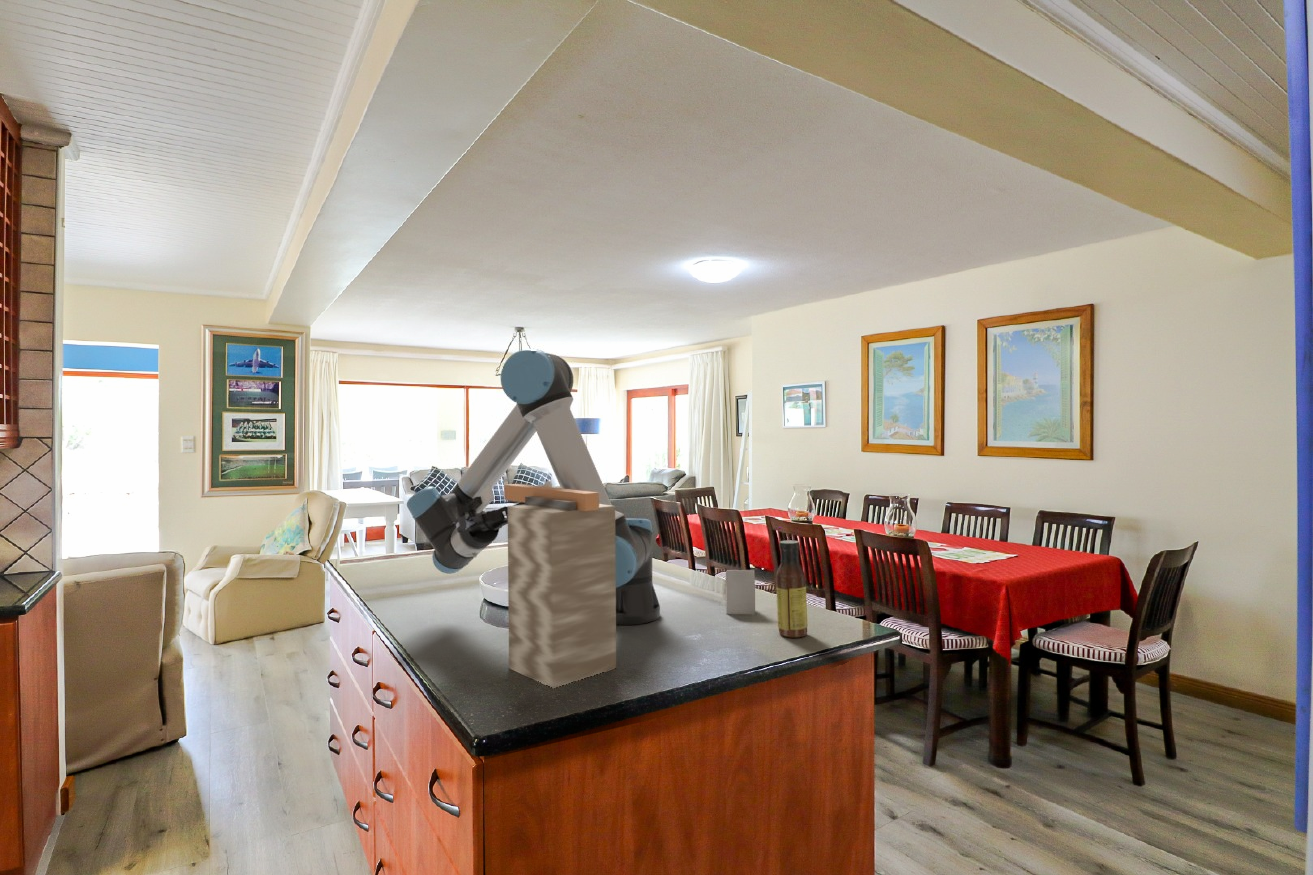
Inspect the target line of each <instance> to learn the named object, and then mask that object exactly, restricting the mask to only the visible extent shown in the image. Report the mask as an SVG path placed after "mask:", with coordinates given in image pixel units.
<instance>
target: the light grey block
mask: <svg viewBox="0 0 1313 875" xmlns="http://www.w3.org/2000/svg"><path fill="white" fill-rule="evenodd" d="M755 573H756V572H755V569H741V570H740V569H726V570H725V614H726V615H756V578H755V576H756V575H755Z"/></svg>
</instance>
